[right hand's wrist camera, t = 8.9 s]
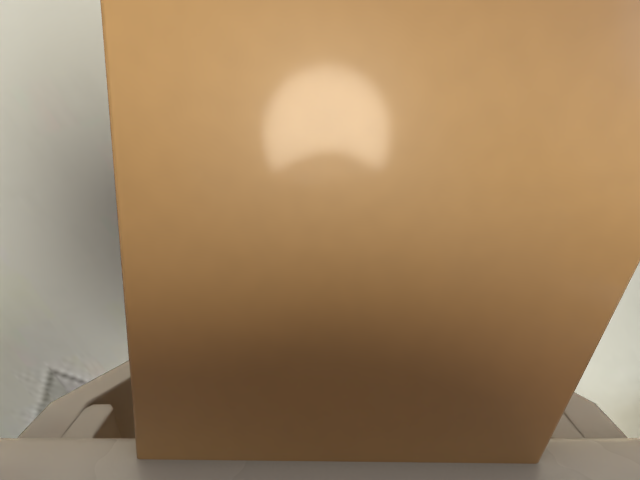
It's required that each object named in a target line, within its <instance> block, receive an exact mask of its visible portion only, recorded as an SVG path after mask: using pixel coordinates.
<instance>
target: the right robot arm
mask: <svg viewBox="0 0 640 480" xmlns="http://www.w3.org/2000/svg"><path fill="white" fill-rule="evenodd" d="M0 480H640V438H627V436H626V435H625V434H624V433H623V432H622V431H621V430H620V429H619V428H618V427H617V426H616V425H615V424H614V423H613V422H612V421H611V420H610V419H609V418H608V417H607V415H606V414H605V413H604V412H603V411H602V410H601V409H600V408H599V407H598V406H597V405H596V404H595V403H593V402H591V401H590V400H588V399H586V398H584V397H582V396H580V395H578V394H577V393H575V392H574V393H573V395H572V397H571V399H570V401H569V403H568V405H567V407H566V409H565V411H564V413H563V415H562V417H561V419H560V421H559V423H558V425H557V427H556V429H555V431H554V433H553V435H552V437H551V439H550V441H549V443H548V445H547V447H546V449H545V451H544V452H543V454H542V456H541V458H540V460H539V462H538V463H536V464H513V463H423V462H334V461H244V460H154V459H138V458H137V453H136V441H135V428H134V416H133V403H132V390H131V378H130V365H129V361H127V362H125V363H123V364H121V365H119V366H118V367H116V368H114V369H112V370H110V371H108V372H106V373H105V374H103V375H101V376H99V377H97V378H95V379H94V380H92V381H90V382H88V383H86V384H84V385H82V386H81V387H79V388H77V389H75V390H73V391H71V392H69V393H68V394H66V395H64V396H62V397H60V398H58V399H56V400H55V401H53V402H51V403H50V404H49V405H48V406H47V407H46V408H45V409H44V410H43V411H42V412H41V413H40V414H39V415H38V416H37V417H36V418H35V420H34V421H33V422H32V423H31V424H30V425H29V426H28V427H27V428H26V429H25V430H24V431H23V432H22V433H21V434H20V435H19V437H18V438H0Z"/></svg>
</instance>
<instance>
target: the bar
mask: <svg viewBox="0 0 640 480" xmlns="http://www.w3.org/2000/svg"><path fill="white" fill-rule="evenodd" d="M101 13H102V26H103V38H104V51H105V63H106V76H107V88H108V101H109V114H110V126H111V139H112V151H113V164H114V177H115V189H116V202H117V214H118V227H119V239H120V252H121V265H122V277H123V290H124V302H125V315H126V328H127V340H128V353H129V365H130V378H131V390H132V403H133V416H134V428H135V441H136V453H137V458H138V459H154V460H244V461H334V462H423V463H513V464H536V463H538V462H539V460H540V458H541V456H542V454H543V452H544V451H545V449H546V447H547V445H548V443H549V441H550V439H551V437H552V435H553V433H554V431H555V429H556V427H557V425H558V423H559V421H560V419H561V417H562V415H563V413H564V411H565V409H566V407H567V405H568V403H569V401H570V399H571V397H572V395H573V393H574V391H575V389H576V387H577V385H578V383H579V381H580V379H581V377H582V375H583V373H584V371H585V369H586V367H587V365H588V363H589V361H590V359H591V357H592V355H593V353H594V351H595V349H596V347H597V345H598V343H599V341H600V339H601V337H602V335H603V333H604V331H605V329H606V327H607V325H608V323H609V321H610V319H611V317H612V315H613V313H614V311H615V309H616V307H617V305H618V303H619V301H620V299H621V297H622V295H623V293H624V291H625V289H626V287H627V285H628V283H629V281H630V279H631V277H632V275H633V273H634V271H635V269H636V267H637V266H638V264H639V262H640V0H101Z"/></svg>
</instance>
